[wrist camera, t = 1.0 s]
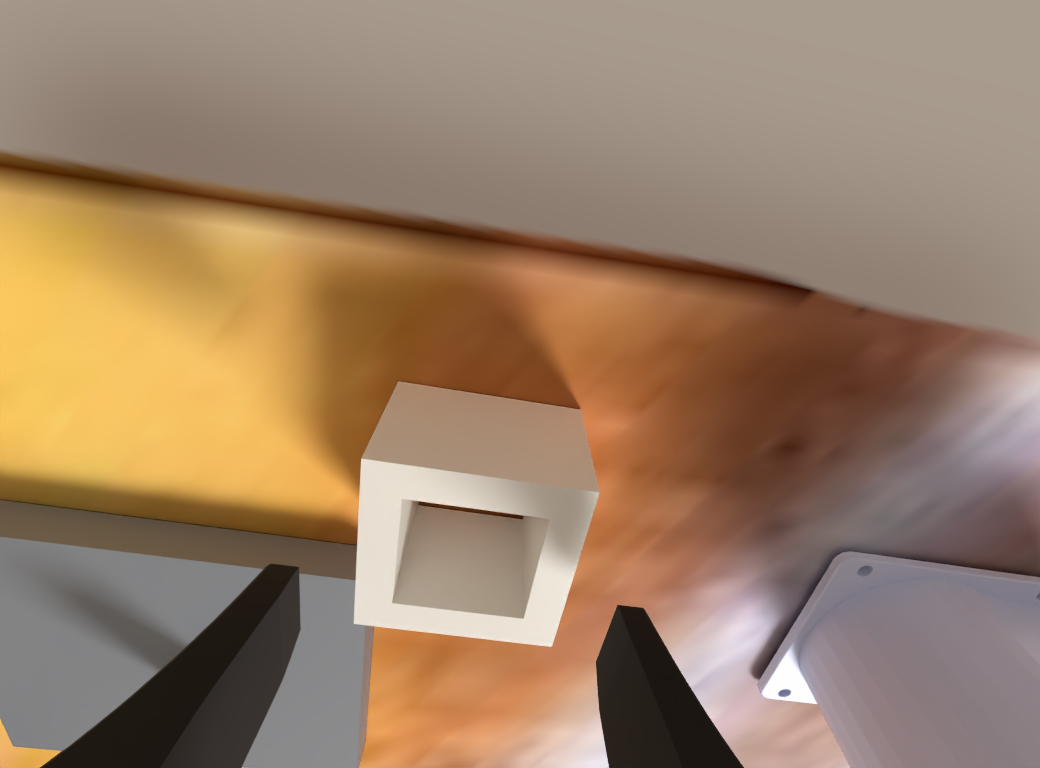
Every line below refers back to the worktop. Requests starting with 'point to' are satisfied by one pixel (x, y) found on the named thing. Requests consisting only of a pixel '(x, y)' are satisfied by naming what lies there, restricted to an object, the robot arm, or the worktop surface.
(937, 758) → the robot arm
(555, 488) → the collar
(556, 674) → the worktop surface
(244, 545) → the shaft board
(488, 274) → the worktop surface
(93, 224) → the worktop surface
